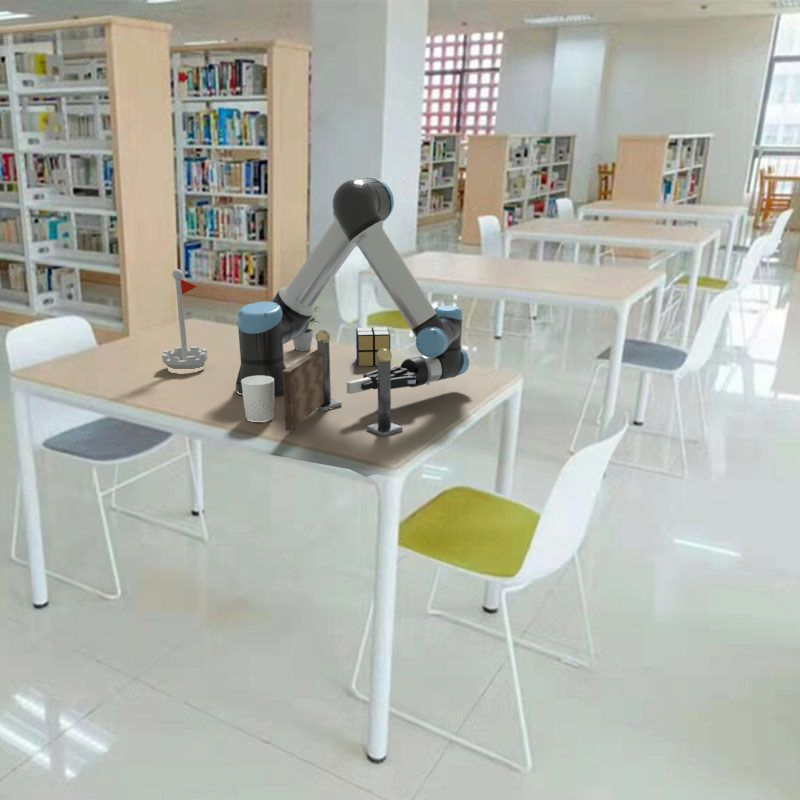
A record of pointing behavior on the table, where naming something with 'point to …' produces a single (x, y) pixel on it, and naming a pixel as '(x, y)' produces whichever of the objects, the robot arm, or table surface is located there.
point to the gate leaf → (303, 388)
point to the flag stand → (183, 335)
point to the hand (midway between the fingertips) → (348, 388)
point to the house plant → (305, 337)
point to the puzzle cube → (371, 344)
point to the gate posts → (384, 387)
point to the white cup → (258, 397)
